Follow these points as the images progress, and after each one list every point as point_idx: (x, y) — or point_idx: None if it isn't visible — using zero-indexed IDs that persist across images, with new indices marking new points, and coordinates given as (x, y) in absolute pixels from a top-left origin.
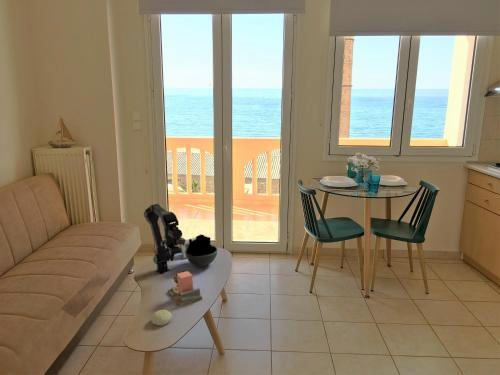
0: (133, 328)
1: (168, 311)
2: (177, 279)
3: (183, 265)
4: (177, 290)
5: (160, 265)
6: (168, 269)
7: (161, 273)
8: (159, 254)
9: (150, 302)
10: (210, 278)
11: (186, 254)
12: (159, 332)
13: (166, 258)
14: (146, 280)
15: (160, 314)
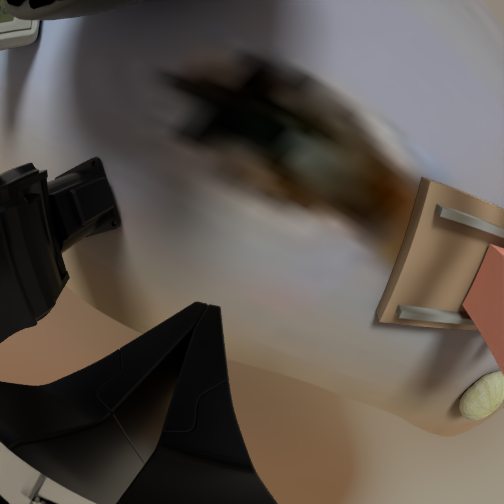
0: (431, 431)
1: (501, 389)
2: (501, 368)
3: (92, 52)
4: (436, 290)
5: (72, 241)
6: (92, 165)
7: (118, 226)
8: (22, 321)
9: (377, 389)
10: (423, 8)
11: (70, 6)
12: None
13: (41, 227)
14: (156, 319)
15: (492, 411)
